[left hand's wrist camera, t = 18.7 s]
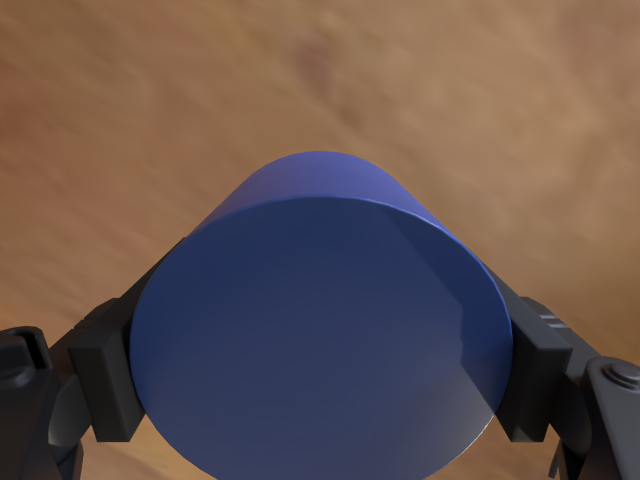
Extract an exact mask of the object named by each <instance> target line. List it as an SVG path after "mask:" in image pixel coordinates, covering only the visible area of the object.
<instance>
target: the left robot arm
mask: <svg viewBox="0 0 640 480" xmlns="http://www.w3.org/2000/svg"><path fill="white" fill-rule="evenodd" d="M185 238H186V237H184V238H183V239H182V240H181V241H180V242H178V243H177V244H176V245H175V246H174V247H173V248H172V249H171V250H170V251H169V252H168V253H167V254H166V255H165V256H164V257H163V258H162V259H160V260H159V261H158V262H157V263H156V264H155V265H154V266H153V267H152V268H151V269H150V270H149V271H148V272H147V273H146V274H145V275H143V276H142V277H141V278H140V279H139V280H138V281H137V282H136V283H135V284H134V285H133V286H132V287H131V288H130V289H129V290H128V291H127V292H125V293H124V294H123V295H122V296H121V297H120V298H112V299H110V300H108V301H107V302H105V303H103V304H101V305H99V306H97V307H96V308H95V309H93V310H92V311H91V312H90V313H89V314H88V315H87V316H86V317H84V320H81V321H80V322H79V323H78V324H76V325H75V326H74V329H71V330H70V331H69V332H67V333H66V334H65V335H64V336H63V337H62V338H61V339H60V340H58V341H57V342H56V343H55V344H54V345H53V346H52V347H50V348H49V349H48V346H47V343H46V340H45V337H44V335H43V332H42V330H41V329H39V328H37V327H32V326H22V327H15V328H9V329H6V330H2V331H0V480H80V475H81V469H82V462H83V455H84V453H83V446H82V443H81V440H80V439H81V438H82V436H83V435H84V433H85V432H86V431H87V429H88V428H89V427H90V425H91V424H92V427H93V431H94V434H95V437H96V440H97V442H129V441H130V440H131V438H132V436H133V434H134V433H135V431H136V429H137V427H138V426H139V424H140V422H141V420H142V419H143V417H144V415H145V413H146V412H145V410H144V408H143V406H142V404H141V402H140V400H139V398H138V396H137V393H136V389H135V386H134V383H133V379H132V376H131V368H130V361H129V336H130V330H131V325H132V320H133V315H134V312H135V309H136V306H137V304H138V301H139V299H140V296H141V294H142V291H143V290H144V288H145V286H146V285H147V283H148V281H149V280H150V278H151V276H152V274H153V273H154V271H155V270H156V269H157V268H158V267H159V265H160V264H161V263H162V262H163V261H164V259H165V258H166V257H167V256H168V255H169V253H170V252H171V251H172V250H173V249H174V248H175V247H177V246H178V245H179V244H180V243H181V242H182V241H183V240H184V239H185ZM476 257H477V256H476ZM477 258H478V257H477ZM478 259H479V258H478ZM479 260H480V259H479ZM480 261H481V260H480ZM481 263H482V264H483V266H484V267H485V268H486V270H487V271H488V273H489V274H490V275H491V277H492V278H493V279H494V281H495V283H496V285H497V287H498V289H499V291H500V293H501V295H502V297H503V299H504V302H505V305H506V308H507V312H508V315H509V318H510V321H511V329H512V337H513V364H512V369H511V374H510V378H509V382H508V386H507V389H506V392H505V394H504V397H503V400H502V402H501V404H500V406H499V408H498V410H497V411H496V413H495V415H496V417H497V418H498V420H499V422H500V424H501V425H502V427H503V429H504V431H505V432H506V434H507V436H508V438H509V439H510V441H511V442H543V441H544V438H545V435H546V431H547V428H548V425H549V423H550V424H551V426H552V427H553V428H554V430H555V431H556V433H557V434H558V435H559V437H560V440H559V443H558V446H557V449H556V452H555V455H554V457H553V460H552V463H551V466H550V469H549V475H548V477H551V478H553V479H554V477H555V475H556V472H557V470H559V474H560V480H640V367H638V366H636V365H634V364H632V363H629V362H626V361H623V360H620V359H617V358H611V357H605V356H601V355H600V354H599V353H597V352H596V351H595V350H594V349H593V348H592V347H591V346H590V345H588V344H587V343H586V342H585V341H584V340H583V339H582V338H580V337H579V336H578V335H577V334H576V333H575V332H574V331H572V330H571V329H570V328H567V325H566V324H564V323H563V322H562V321H561V320H560V319H557V318H556V316H555V315H554V314H553V313H552V312H551V311H550V310H548V309H547V308H546V307H545V306H544V305H542V304H540V303H538V302H536V301H534V300H532V299H530V298H529V297H519V296H518V295H517V294H516V293H515V292H514V291H513V290H512V289H510V288H509V287H508V286H507V285H506V284H505V283H504V282H503V281H502V280H501V279H500V278H499V277H498V276H497V275H496V274H495V273H494V272H492V271H491V270H490V269H489V268H488V267H487V266H486V265H485V264H484V263H483V262H482V261H481Z"/></svg>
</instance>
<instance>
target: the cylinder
mask: <svg viewBox="0 0 640 480" xmlns="http://www.w3.org/2000/svg"><path fill="white" fill-rule="evenodd" d="M129 361H130V368H131V376H132V379H133V383H134V386H135V389H136V393H137V396H138V398H139V400H140V402H141V404H142V406H143V408H144V410H145V412H146V414H147V416H148V417H149V419H150V420H151V422H152V423H153V425H154V426H155V428H156V429H157V431H158V432H159V433H160V434H161V435H162V436H163V437H164V439H165V440H166V441H167V442H168V443H169V444H170V445H171V446H172V447H173V448H174V449H175V450H176V451H177V452H178V453H179V454H181V455H182V456H183V457H184V458H185V459H187V460H188V461H189V462H191V463H192V464H194V465H195V466H196V467H198V468H199V469H200V470H202V471H204V472H206V473H207V474H209V475H211V476H213V477H214V478H216V479H218V480H423V479H425V478H427V477H429V476H431V475H432V474H434V473H436V472H437V471H439V470H440V469H442V468H443V467H445V466H447V465H448V464H450V463H451V462H452V461H453V460H455V459H456V458H457V457H458V456H460V455H461V454H462V453H463V452H464V451H466V450H467V449H468V448H469V447H470V446H471V445H472V443H473V442H474V441H475V440H476V439H477V438H478V437H479V436H480V435H481V434H482V432H483V431H484V430H485V428H486V427H487V426H488V424H489V423H490V422H491V420H492V419H493V417H494V415H495V413H496V411H497V410H498V408H499V406H500V404H501V402H502V400H503V397H504V394H505V392H506V389H507V386H508V382H509V378H510V374H511V369H512V364H513V337H512V329H511V321H510V318H509V315H508V312H507V308H506V305H505V302H504V299H503V297H502V295H501V293H500V291H499V289H498V287H497V285H496V283H495V281H494V279H493V278H492V277H491V275H490V274H489V273H488V271H487V270H486V268H485V267H484V266H483V264H482V263H481V261H480V260H479V259H478V258H477V257H476V256H475V255H474V254H473V253H472V252H471V251H470V250H469V249H468V248H467V247H466V246H465V245H464V244H463V243H462V242H461V241H460V240H459V239H458V238H457V237H455V236H454V235H453V234H452V233H451V232H450V231H449V230H448V229H447V228H446V227H445V226H444V225H443V224H442V223H441V222H439V221H438V220H437V219H436V218H435V217H434V216H433V215H432V214H431V213H430V212H429V211H428V210H427V209H426V208H425V207H424V206H422V205H421V204H420V203H419V202H418V201H417V200H416V199H415V198H414V197H413V196H412V195H411V194H410V193H409V192H408V191H406V190H405V189H404V188H403V187H402V186H401V185H400V184H399V183H398V182H397V181H396V180H395V179H394V178H393V177H391V176H390V175H389V174H387V173H386V172H385V171H383V170H382V169H381V168H379V167H377V166H375V165H373V164H371V163H370V162H368V161H365V160H363V159H360V158H357V157H355V156H351V155H347V154H343V153H338V152H327V151H315V152H304V153H298V154H293V155H290V156H287V157H284V158H280V159H278V160H276V161H274V162H272V163H269V164H267V165H265V166H264V167H262V168H261V169H259V170H258V171H256V172H255V173H253V174H252V175H251V176H250V177H249V178H247V179H246V180H245V181H244V182H243V183H242V184H241V185H240V186H239V187H238V188H237V189H236V190H235V191H234V192H233V193H231V194H230V195H229V196H228V197H227V198H226V199H225V200H224V201H223V202H222V203H221V204H220V205H219V206H218V207H217V208H216V209H215V210H214V211H213V212H212V213H211V214H210V215H209V216H208V217H207V218H206V219H205V220H203V221H202V222H201V223H200V224H199V225H198V226H197V227H196V228H195V229H194V230H193V231H192V232H191V233H190V234H189V235H188V236H187V237H186V238H185V239H184V240H183V241H182V242H181V243H180V244H179V245H178V246H177V247H175V248H174V249H173V250H172V251H171V252H170V253H169V255H168V256H167V257H166V258H165V259H164V261H163V262H162V263H161V264H160V265H159V267H158V268H157V269H156V270H155V271H154V273H153V274H152V276H151V278H150V280H149V281H148V283H147V285H146V286H145V288H144V290H143V291H142V294H141V296H140V299H139V301H138V304H137V306H136V309H135V312H134V315H133V320H132V325H131V330H130V336H129Z"/></svg>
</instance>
